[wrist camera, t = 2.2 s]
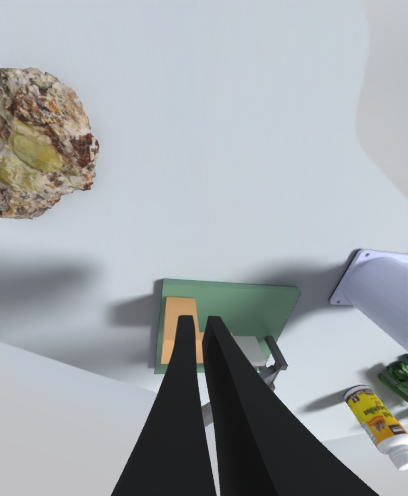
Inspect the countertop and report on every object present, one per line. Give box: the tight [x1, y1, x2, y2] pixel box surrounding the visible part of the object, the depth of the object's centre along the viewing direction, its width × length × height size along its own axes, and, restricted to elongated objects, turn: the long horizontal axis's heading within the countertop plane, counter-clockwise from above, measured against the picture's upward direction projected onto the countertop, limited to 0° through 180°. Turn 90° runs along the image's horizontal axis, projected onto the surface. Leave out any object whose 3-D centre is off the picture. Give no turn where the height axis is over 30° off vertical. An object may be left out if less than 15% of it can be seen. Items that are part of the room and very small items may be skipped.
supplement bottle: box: [344, 386, 408, 470], centre depth 34 cm, size 6×6×10 cm
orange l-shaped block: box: [161, 297, 233, 364], centre depth 19 cm, size 6×3×5 cm, turn 80°
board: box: [154, 279, 301, 391], centre depth 22 cm, size 16×15×5 cm
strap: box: [201, 362, 280, 427], centre depth 21 cm, size 11×3×1 cm, turn 80°
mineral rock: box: [0, 68, 99, 220], centre depth 13 cm, size 11×4×8 cm
